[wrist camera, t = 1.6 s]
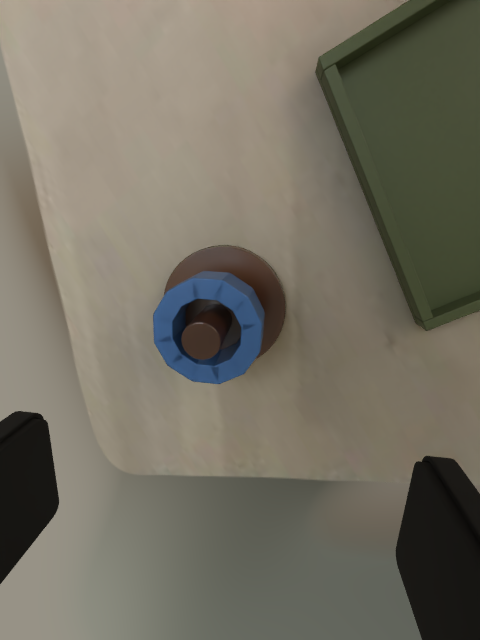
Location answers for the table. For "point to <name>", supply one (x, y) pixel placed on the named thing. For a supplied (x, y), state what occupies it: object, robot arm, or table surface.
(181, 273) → the stand
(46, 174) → the table surface
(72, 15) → the table surface
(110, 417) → the table surface
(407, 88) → the tray
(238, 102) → the table surface
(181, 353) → the ring
